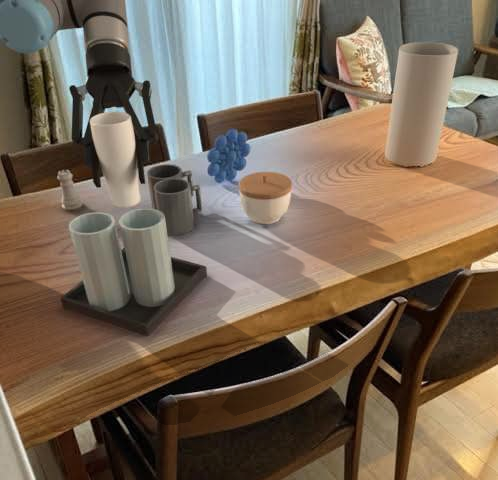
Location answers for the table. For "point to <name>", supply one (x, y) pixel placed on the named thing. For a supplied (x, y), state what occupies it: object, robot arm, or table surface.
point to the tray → (132, 312)
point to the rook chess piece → (68, 192)
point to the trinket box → (265, 196)
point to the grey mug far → (165, 177)
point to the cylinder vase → (419, 102)
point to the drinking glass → (117, 156)
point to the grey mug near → (177, 204)
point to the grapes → (228, 156)
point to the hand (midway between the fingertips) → (119, 182)
